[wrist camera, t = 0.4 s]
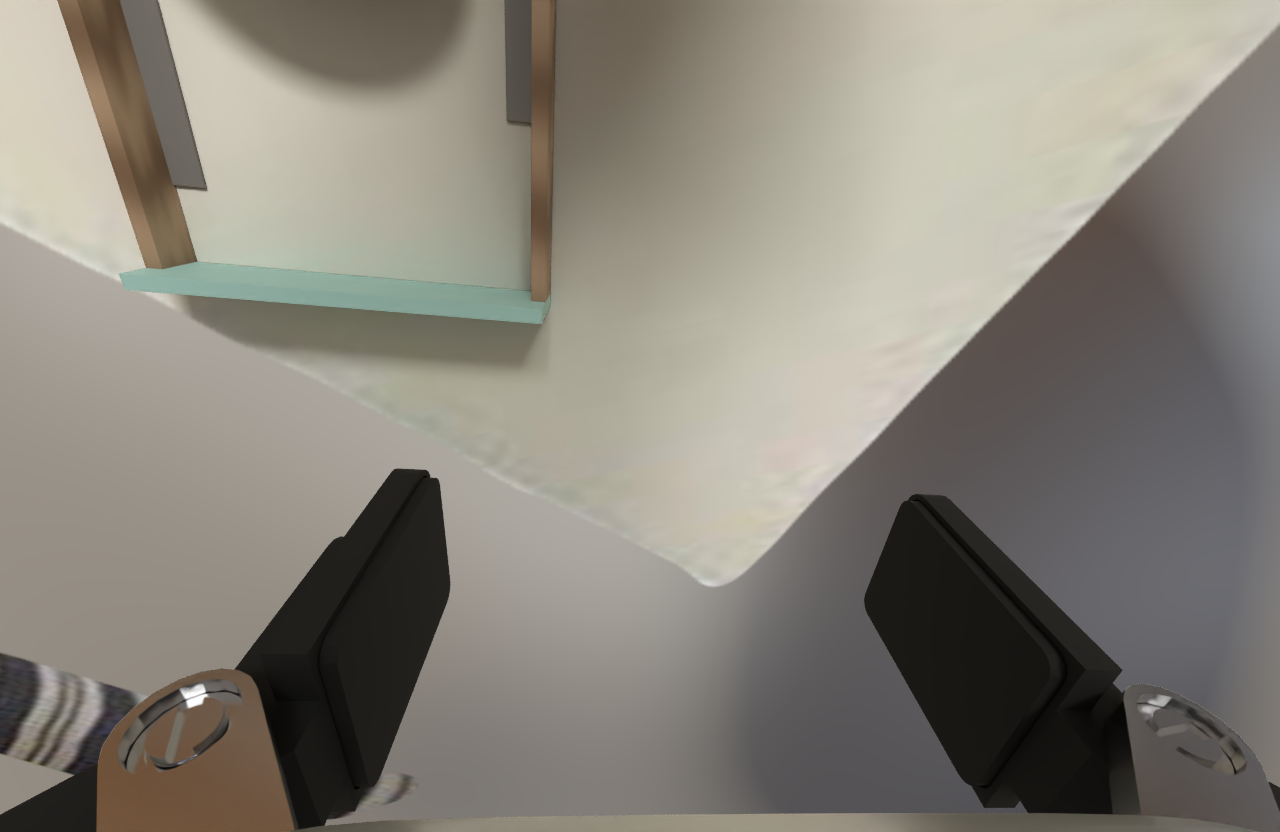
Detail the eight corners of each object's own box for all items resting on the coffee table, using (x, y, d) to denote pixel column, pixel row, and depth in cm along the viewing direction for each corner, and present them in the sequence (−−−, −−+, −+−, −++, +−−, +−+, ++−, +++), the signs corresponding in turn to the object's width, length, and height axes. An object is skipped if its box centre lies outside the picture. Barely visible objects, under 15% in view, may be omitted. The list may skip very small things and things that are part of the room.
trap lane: (5, -330, 23) (-139, -448, 19) (560, -230, 26) (548, -315, 21) (186, 274, 36) (124, 289, 31) (550, 305, 38) (541, 324, 33)
